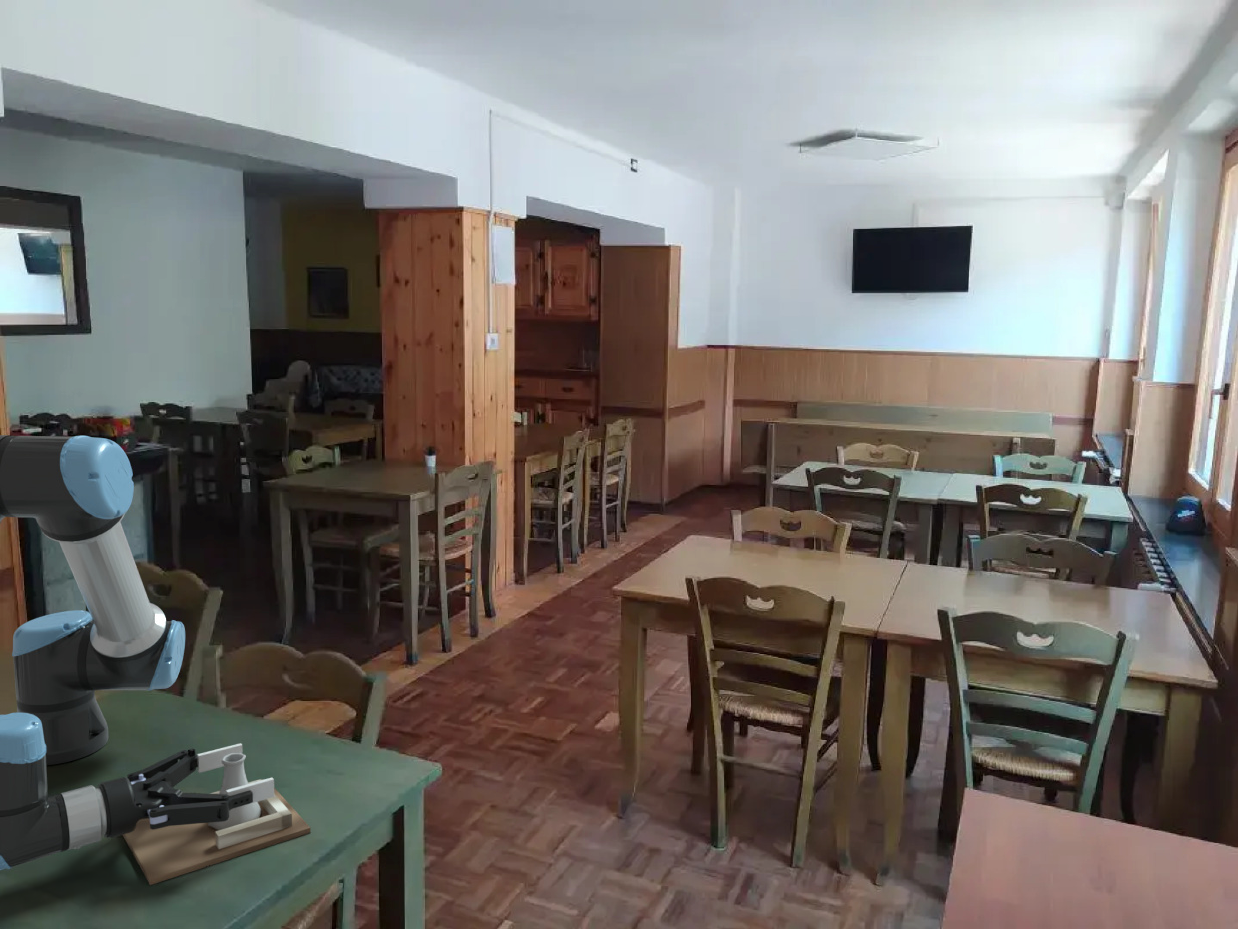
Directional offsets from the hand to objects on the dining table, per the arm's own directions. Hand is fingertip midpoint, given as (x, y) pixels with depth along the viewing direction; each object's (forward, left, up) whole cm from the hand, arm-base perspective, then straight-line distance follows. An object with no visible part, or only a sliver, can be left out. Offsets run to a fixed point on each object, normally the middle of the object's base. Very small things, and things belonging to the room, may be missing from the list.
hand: (257, 769), depth 143 cm
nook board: (0, -6, -8) cm, 10 cm away
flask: (0, -3, -7) cm, 8 cm away
